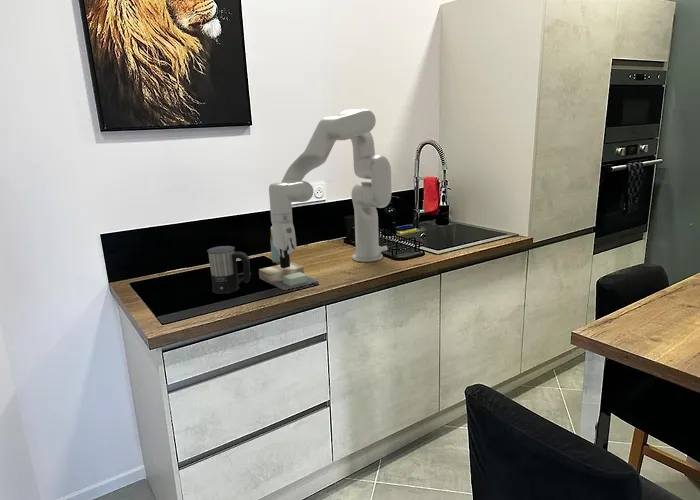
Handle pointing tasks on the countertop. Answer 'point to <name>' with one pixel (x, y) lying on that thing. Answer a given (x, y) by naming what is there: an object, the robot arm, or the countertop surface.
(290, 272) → the birch board
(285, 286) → the rubber mat
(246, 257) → the milk frother
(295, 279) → the green block
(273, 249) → the bottle
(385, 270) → the countertop surface
